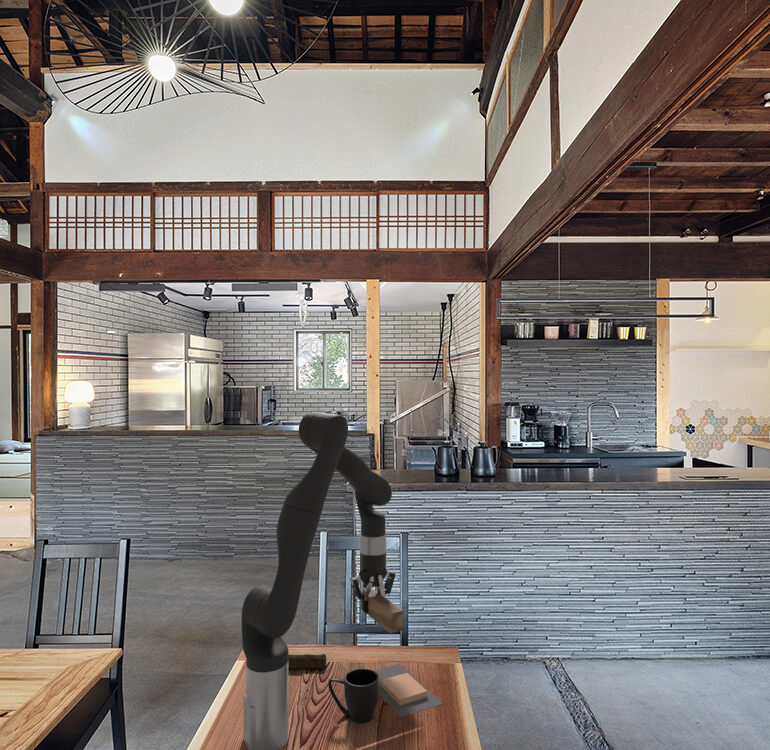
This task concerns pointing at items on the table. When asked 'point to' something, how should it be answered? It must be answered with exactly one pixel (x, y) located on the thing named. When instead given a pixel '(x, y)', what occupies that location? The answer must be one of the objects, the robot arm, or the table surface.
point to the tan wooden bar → (385, 612)
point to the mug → (358, 694)
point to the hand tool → (307, 661)
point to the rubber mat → (410, 707)
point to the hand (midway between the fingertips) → (372, 610)
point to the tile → (403, 689)
